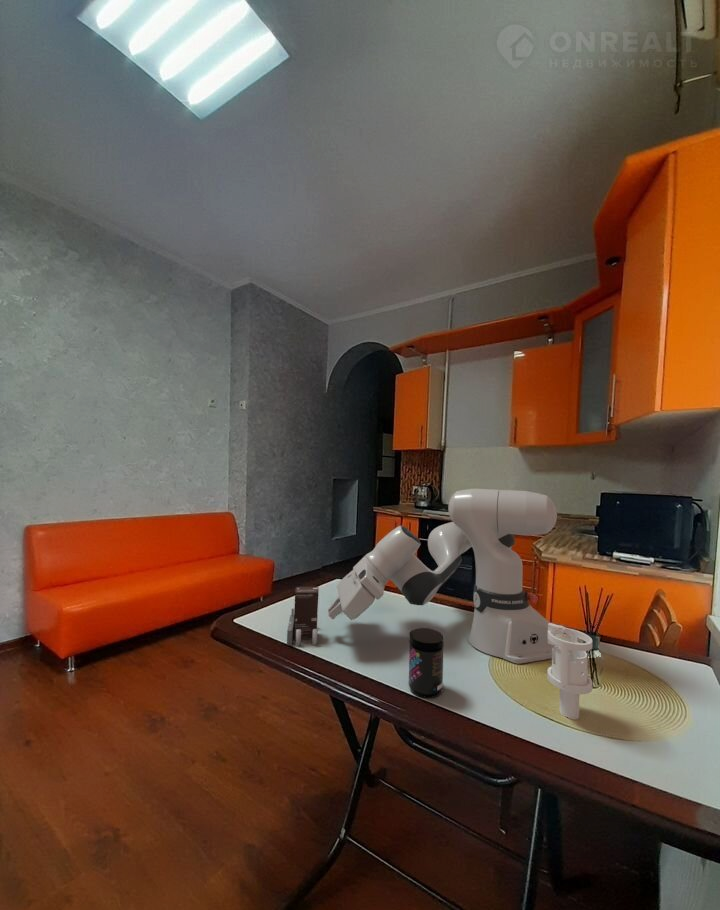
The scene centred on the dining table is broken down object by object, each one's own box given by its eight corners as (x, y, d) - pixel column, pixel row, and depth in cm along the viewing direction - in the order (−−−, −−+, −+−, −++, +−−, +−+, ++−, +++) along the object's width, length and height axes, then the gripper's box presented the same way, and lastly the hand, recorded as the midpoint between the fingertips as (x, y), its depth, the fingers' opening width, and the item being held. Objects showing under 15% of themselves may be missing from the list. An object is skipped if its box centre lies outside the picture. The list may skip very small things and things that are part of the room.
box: (292, 641, 89) (294, 591, 90) (293, 632, 94) (295, 586, 94) (317, 640, 90) (318, 591, 91) (317, 632, 95) (318, 585, 95)
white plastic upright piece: (553, 696, 70) (554, 617, 71) (596, 714, 65) (596, 629, 66) (541, 713, 65) (542, 628, 66) (587, 733, 60) (587, 641, 61)
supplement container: (415, 675, 76) (416, 625, 76) (447, 686, 72) (448, 633, 73) (402, 691, 70) (404, 637, 70) (436, 704, 67) (437, 646, 67)
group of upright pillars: (317, 627, 98) (317, 607, 98) (317, 645, 87) (317, 623, 88) (290, 627, 97) (290, 607, 97) (286, 646, 87) (287, 623, 87)
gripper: (355, 558, 104) (320, 592, 102) (366, 578, 84) (322, 622, 82) (370, 573, 105) (335, 608, 103) (384, 597, 84) (341, 641, 82)
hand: (329, 614), depth 92 cm, fingers closed
